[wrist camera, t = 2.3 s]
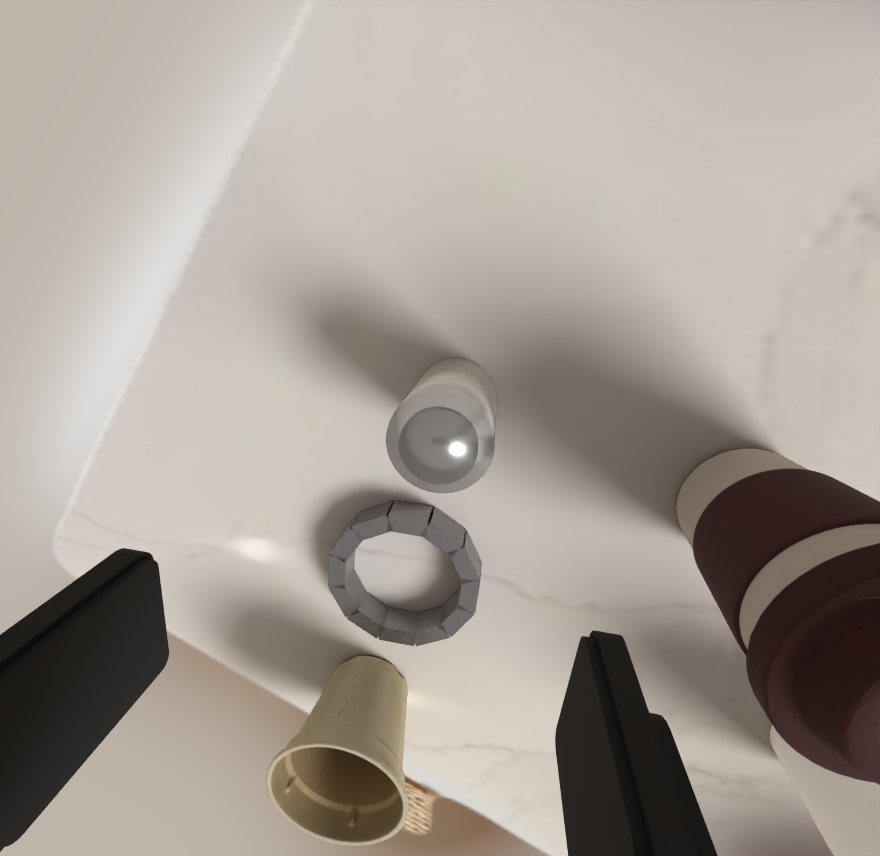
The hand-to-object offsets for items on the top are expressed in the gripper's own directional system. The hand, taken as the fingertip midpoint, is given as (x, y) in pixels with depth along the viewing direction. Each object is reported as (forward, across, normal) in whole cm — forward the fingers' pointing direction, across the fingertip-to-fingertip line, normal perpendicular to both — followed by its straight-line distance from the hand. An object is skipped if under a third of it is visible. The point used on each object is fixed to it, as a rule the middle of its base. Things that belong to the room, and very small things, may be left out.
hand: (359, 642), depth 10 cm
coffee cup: (+20, -18, +4) cm, 27 cm away
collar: (+20, +2, +13) cm, 24 cm away
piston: (+20, 0, 0) cm, 20 cm away
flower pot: (+20, +4, +25) cm, 32 cm away
